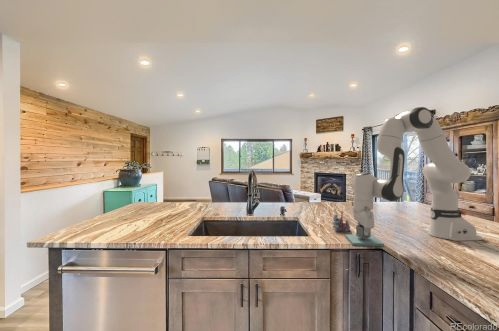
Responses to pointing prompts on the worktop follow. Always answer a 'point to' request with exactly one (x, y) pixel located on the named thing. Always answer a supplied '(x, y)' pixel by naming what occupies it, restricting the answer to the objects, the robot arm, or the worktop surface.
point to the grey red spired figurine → (341, 224)
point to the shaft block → (364, 241)
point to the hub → (362, 232)
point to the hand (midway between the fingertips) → (363, 233)
